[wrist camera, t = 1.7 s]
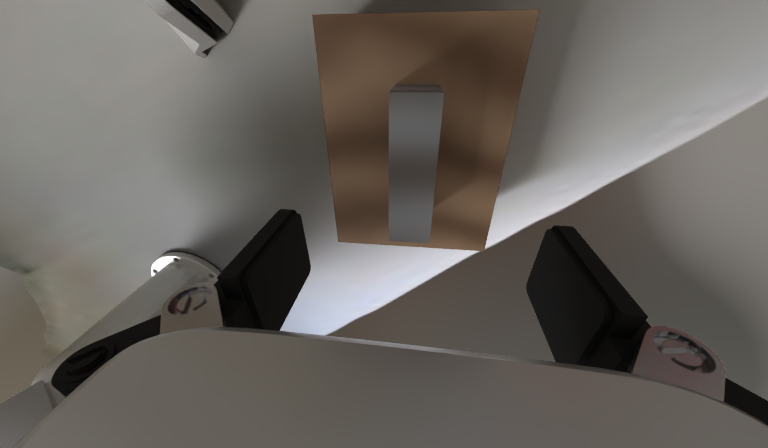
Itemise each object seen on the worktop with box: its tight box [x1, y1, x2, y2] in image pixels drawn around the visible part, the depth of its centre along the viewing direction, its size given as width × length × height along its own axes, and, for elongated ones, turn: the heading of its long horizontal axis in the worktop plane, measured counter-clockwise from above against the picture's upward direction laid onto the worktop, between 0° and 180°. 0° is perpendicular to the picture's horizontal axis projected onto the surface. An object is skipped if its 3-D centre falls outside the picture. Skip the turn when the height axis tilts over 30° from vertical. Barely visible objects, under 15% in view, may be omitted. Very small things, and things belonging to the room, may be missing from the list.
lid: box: [313, 10, 539, 251], centre depth 20 cm, size 18×14×6 cm
